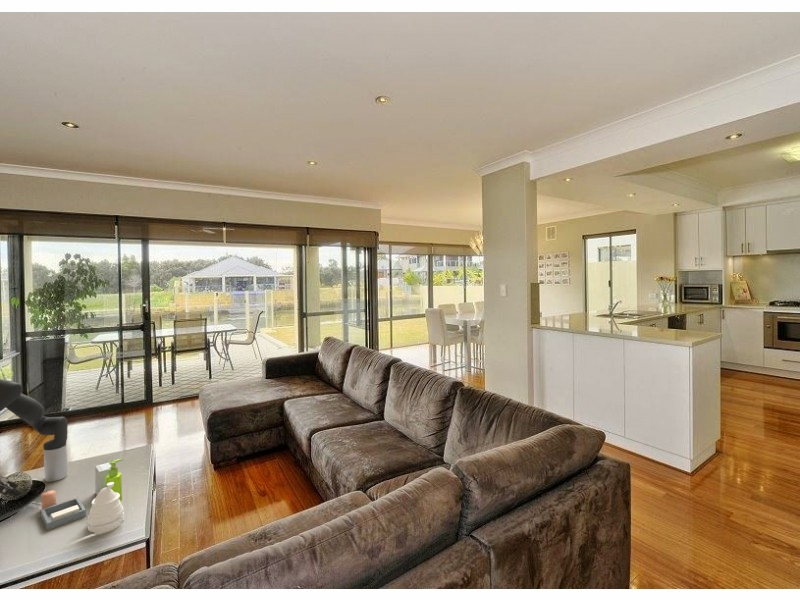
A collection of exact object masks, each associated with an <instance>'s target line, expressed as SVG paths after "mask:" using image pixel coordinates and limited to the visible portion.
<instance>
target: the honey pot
mask: <svg viewBox="0 0 800 600" xmlns="http://www.w3.org/2000/svg"><path fill="white" fill-rule="evenodd" d="M113 485H114V482H110V483H108V484H107V487H108V488H107V487H106V488H103V489H102V490H101V491H100V492H99V493H98V495H97V494H96V496H95V498H93V500H92V501H91V508H90V510H89V514H88V516H87V520H86V521H87V522H86V523H87V530H88V531H89V532H91V535H101V534H105V533H108V532H111V531H113V530H115V529H117V528H119V527H120V526H122V524H123V523H124V519H125V512H124V511H125V510H124V509H125V508H124V506H123V504H122V501H120V500H119V497H120V494H119V493H116V492H114V491H113V490H112V489H110V488H112V487H113ZM118 526H119V527H118Z"/></svg>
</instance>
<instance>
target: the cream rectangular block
mask: <svg viewBox="0 0 800 600" xmlns="http://www.w3.org/2000/svg"><path fill="white" fill-rule="evenodd" d="M77 511H79V507H78V505H75V506H72V507H69V508H67V509H64V510H61V511H58V512H55V513H52V514H51V521H52V520H55V519H58V518H60V517H63V516H66V515H69V514H72V513H74V512H77Z"/></svg>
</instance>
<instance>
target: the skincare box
mask: <svg viewBox="0 0 800 600" xmlns="http://www.w3.org/2000/svg"><path fill="white" fill-rule="evenodd" d="M109 463H110V462H106V463H102V464H97V465H95V467H94V468H95V476H94V477H95V478H94V479H95V483H94V484H95V485H94V486H95V489H94V491H95V495H96V496H97V495H98V493H99V492H100V491H101V490H102V489H103V488H106V477H107V476H108V475H109V469H110V468H111V465H110V464H109Z"/></svg>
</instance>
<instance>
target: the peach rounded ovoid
mask: <svg viewBox="0 0 800 600" xmlns="http://www.w3.org/2000/svg"><path fill="white" fill-rule="evenodd" d="M40 498H41V500H40V501H41V509H44V508H47V507H50V506H53V505H56V504H57V492H56V490H55V489H51V490H49V491H45V492H43V493H41V494H40Z"/></svg>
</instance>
